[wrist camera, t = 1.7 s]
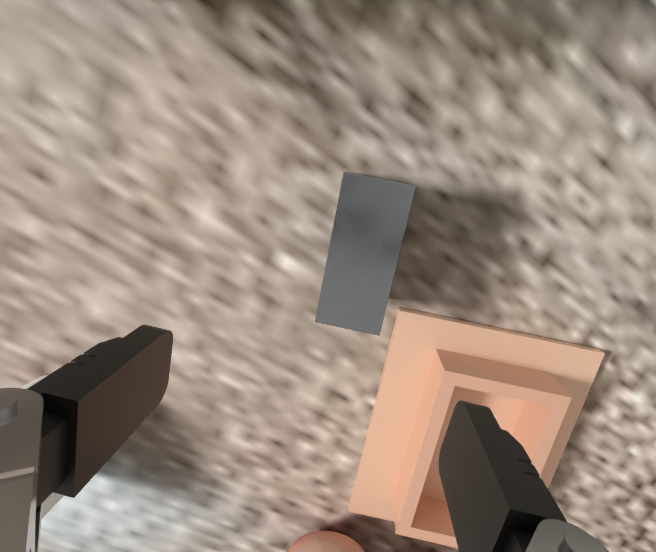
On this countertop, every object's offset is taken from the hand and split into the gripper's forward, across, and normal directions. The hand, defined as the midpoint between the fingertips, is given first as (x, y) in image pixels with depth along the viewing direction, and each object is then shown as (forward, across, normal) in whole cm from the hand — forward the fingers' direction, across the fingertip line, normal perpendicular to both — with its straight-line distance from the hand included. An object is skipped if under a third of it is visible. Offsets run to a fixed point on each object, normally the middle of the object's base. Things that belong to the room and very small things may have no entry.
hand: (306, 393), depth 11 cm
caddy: (+21, -14, +13) cm, 28 cm away
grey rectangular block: (+21, -1, -2) cm, 21 cm away
